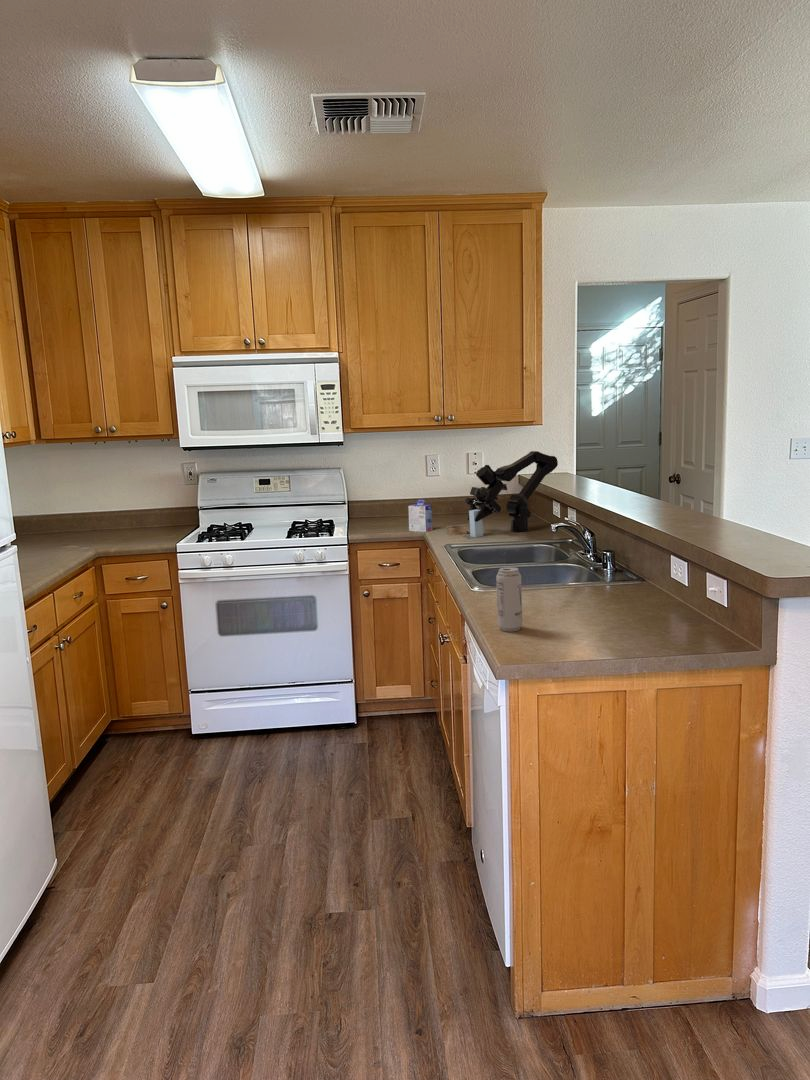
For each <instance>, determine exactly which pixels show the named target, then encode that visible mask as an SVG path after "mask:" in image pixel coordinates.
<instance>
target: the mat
mask: <svg viewBox="0 0 810 1080" xmlns="http://www.w3.org/2000/svg"><path fill="white" fill-rule="evenodd" d="M467 535H468V536H467ZM462 537H464V538H466V539H467V540H472V539H485V538H488V536H487V535H485V534H483V536H479V537H472V536H471V535H470V534H465V535H462Z"/></svg>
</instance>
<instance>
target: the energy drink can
mask: <svg viewBox="0 0 810 1080" xmlns="http://www.w3.org/2000/svg"><path fill="white" fill-rule="evenodd" d="M495 579H496V602H497V603H496V605H497V608H496V609H497V610H496V611H497V626H498V627H499V630H500V631H503V632H508V633H509V632H510V633H511V632H517V631H519V630H521V627H523V597H522V596H523V595H522V594H523V593H522V592H523V590H522V589H523V588H522V574H521V573H520V571H519V568H518V567H515V566H507V567H501V568H499V569H498V572H497V574H496V577H495Z"/></svg>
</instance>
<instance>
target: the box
mask: <svg viewBox="0 0 810 1080" xmlns="http://www.w3.org/2000/svg"><path fill="white" fill-rule="evenodd" d="M467 532H468V531H467V527H466V526H465V525H450V526H446V534H447V535H448V536H464V535H463V534H465V535H468V533H467Z"/></svg>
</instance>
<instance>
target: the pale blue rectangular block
mask: <svg viewBox="0 0 810 1080" xmlns="http://www.w3.org/2000/svg"><path fill="white" fill-rule="evenodd" d="M480 510H481V509H479V510H477V509H476V510H468V516H469V519H470V521H469V530H470V534H469V535H471V536H472V537H479V536H483V535H484V530H483V529H484V528H483V519H481V520H479V521H477V522H476V521H475V518H476V517H477V515H478V513H479V511H480Z"/></svg>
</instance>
